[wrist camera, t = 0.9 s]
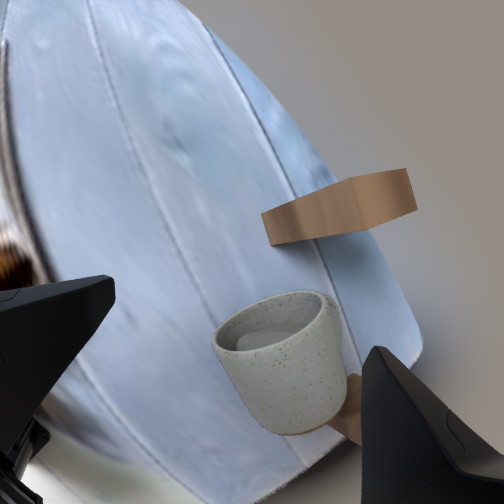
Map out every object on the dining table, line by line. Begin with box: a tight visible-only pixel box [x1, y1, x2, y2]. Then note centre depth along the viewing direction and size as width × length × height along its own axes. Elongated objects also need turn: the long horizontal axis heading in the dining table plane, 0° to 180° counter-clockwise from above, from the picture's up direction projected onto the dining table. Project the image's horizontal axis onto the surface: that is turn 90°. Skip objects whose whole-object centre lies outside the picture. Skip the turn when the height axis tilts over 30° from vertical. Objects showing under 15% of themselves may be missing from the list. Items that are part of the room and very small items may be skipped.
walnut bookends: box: [261, 168, 417, 447], centre depth 18 cm, size 5×20×10 cm, turn 18°
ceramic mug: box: [212, 290, 347, 436], centre depth 18 cm, size 11×8×8 cm
